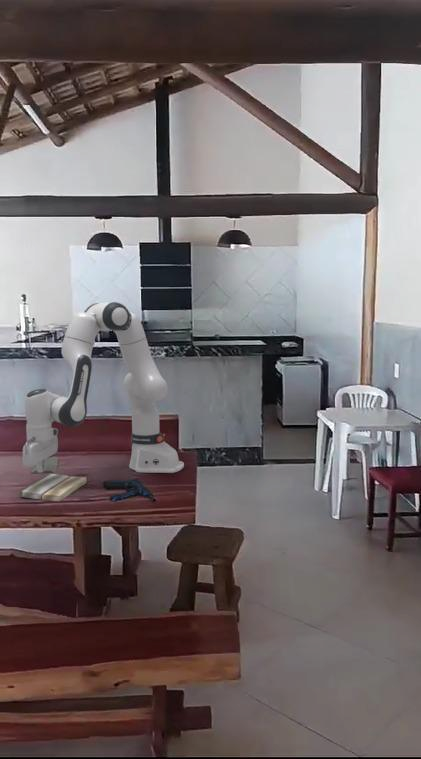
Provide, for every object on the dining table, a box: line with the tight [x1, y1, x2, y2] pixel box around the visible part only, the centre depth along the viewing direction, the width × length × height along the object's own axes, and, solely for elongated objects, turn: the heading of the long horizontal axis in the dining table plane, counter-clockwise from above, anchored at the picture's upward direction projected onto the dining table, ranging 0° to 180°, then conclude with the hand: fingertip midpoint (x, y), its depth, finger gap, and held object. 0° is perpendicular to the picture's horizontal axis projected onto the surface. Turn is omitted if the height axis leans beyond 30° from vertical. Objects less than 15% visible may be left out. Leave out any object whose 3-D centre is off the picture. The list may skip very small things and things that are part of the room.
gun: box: [103, 478, 157, 502], centre depth 230 cm, size 24×3×15 cm
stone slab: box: [30, 456, 59, 475], centre depth 266 cm, size 22×3×10 cm
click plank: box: [19, 473, 69, 500], centre depth 235 cm, size 8×22×2 cm, turn 167°
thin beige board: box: [41, 475, 87, 502], centre depth 233 cm, size 7×22×2 cm, turn 167°
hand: (41, 471), depth 235 cm, fingers closed
